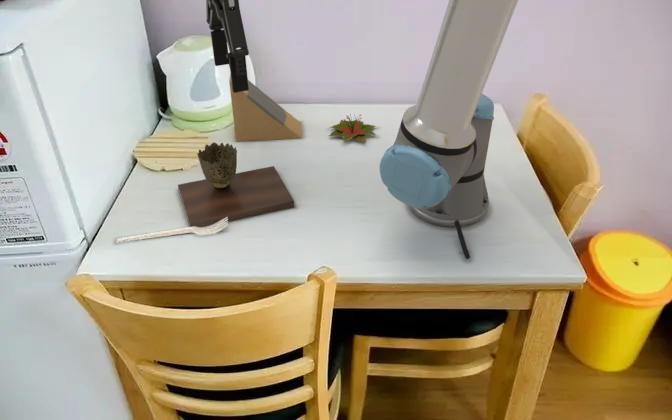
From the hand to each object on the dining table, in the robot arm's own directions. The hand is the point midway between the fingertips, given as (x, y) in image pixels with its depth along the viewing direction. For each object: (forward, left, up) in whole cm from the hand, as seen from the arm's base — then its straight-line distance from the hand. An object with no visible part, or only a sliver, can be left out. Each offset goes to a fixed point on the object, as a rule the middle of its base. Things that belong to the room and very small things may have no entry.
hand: (231, 77), depth 110 cm
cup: (-3, +5, -21) cm, 22 cm away
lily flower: (+11, -29, -23) cm, 39 cm away
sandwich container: (+19, -11, -23) cm, 32 cm away
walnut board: (-6, +3, -23) cm, 24 cm away
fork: (-13, +16, -23) cm, 31 cm away
